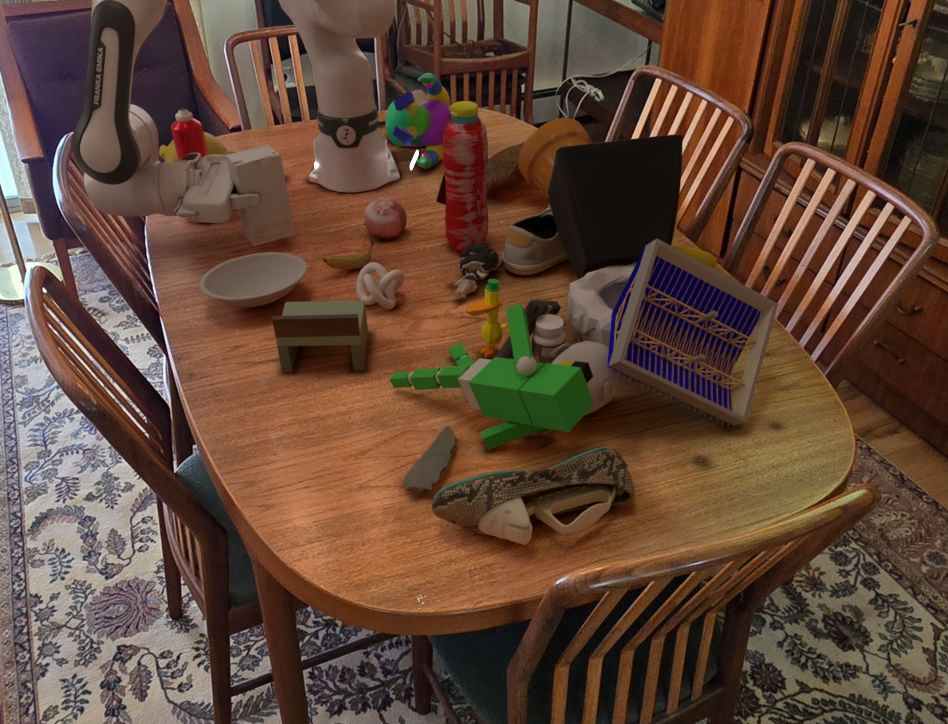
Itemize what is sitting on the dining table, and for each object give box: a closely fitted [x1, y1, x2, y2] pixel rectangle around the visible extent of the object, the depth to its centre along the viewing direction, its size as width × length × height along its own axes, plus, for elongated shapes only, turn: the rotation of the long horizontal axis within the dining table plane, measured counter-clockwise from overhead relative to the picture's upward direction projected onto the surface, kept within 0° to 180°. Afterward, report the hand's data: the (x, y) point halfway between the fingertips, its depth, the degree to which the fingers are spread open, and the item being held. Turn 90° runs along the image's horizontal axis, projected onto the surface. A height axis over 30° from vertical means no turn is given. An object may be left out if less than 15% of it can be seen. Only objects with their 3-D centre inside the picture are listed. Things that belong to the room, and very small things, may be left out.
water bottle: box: [435, 100, 489, 253], centre depth 148 cm, size 12×8×25 cm, turn 36°
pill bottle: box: [531, 314, 566, 364], centre depth 123 cm, size 5×5×8 cm
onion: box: [363, 197, 408, 242], centre depth 157 cm, size 8×8×7 cm
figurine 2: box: [452, 242, 504, 300], centre depth 144 cm, size 7×6×15 cm
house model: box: [607, 239, 779, 427], centre depth 115 cm, size 19×20×7 cm
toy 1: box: [388, 303, 594, 451], centre depth 113 cm, size 14×15×30 cm
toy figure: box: [465, 278, 508, 359], centre depth 125 cm, size 7×4×12 cm, turn 120°
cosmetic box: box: [225, 144, 297, 247], centre depth 149 cm, size 8×6×15 cm
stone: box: [403, 425, 458, 494], centre depth 109 cm, size 13×2×5 cm
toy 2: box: [527, 341, 624, 437], centre depth 114 cm, size 10×15×10 cm, turn 131°
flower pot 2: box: [547, 133, 683, 280], centre depth 135 cm, size 19×19×17 cm
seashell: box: [486, 141, 527, 193], centre depth 173 cm, size 19×9×15 cm
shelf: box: [271, 300, 369, 373], centre depth 127 cm, size 10×12×9 cm
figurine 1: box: [385, 72, 452, 170], centre depth 181 cm, size 18×14×20 cm
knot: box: [355, 261, 405, 310], centre depth 139 cm, size 8×8×6 cm
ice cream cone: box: [408, 89, 428, 105], centre depth 205 cm, size 5×5×15 cm
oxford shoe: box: [501, 204, 569, 276], centre depth 152 cm, size 11×29×8 cm, turn 137°
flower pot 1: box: [518, 117, 592, 198], centre depth 162 cm, size 14×14×13 cm
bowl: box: [566, 262, 637, 347], centre depth 127 cm, size 21×20×10 cm
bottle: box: [170, 108, 208, 224], centre depth 158 cm, size 5×5×20 cm
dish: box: [199, 251, 308, 308], centre depth 139 cm, size 18×14×5 cm
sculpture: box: [159, 131, 237, 162], centre depth 168 cm, size 15×13×13 cm
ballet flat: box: [431, 446, 636, 545], centre depth 100 cm, size 8×25×9 cm
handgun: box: [494, 298, 562, 359], centre depth 127 cm, size 19×2×12 cm
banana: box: [322, 239, 375, 271], centre depth 148 cm, size 10×2×4 cm, turn 128°
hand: (264, 187), depth 148 cm, fingers closed on cosmetic box, 7 cm apart
